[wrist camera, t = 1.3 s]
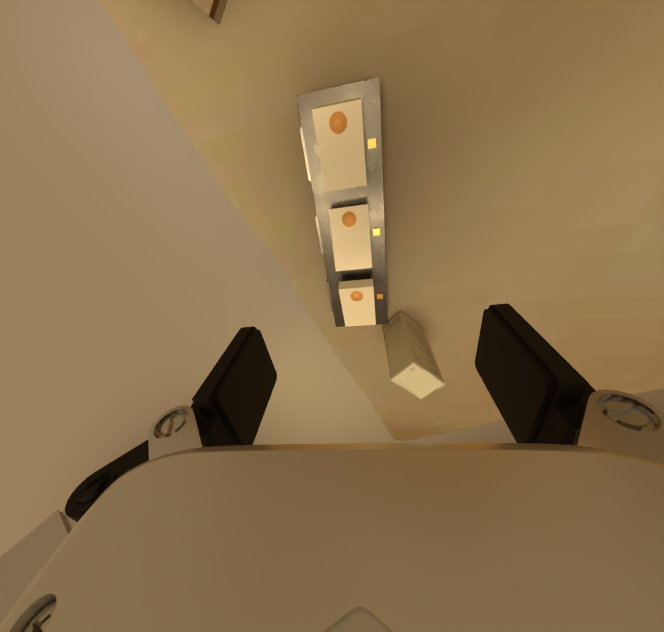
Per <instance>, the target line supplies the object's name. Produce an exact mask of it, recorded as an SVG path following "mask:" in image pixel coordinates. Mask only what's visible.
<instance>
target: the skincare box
mask: <svg viewBox="0 0 664 632" xmlns="http://www.w3.org/2000/svg"><path fill="white" fill-rule="evenodd" d="M383 332H384V339H385V346H386V352H387V359H388V365H389V372H390V379H391V380H392V381H393V382H394V383H396V384H397V385H399V386H400V387H402V388H403V389H405V390H407V391H408V392H410V393H411V394H413V395H415V396H416V397H418V398H419V399H422V398H424V397H426V396H428V395H429V394H431V393H433V392H434V391H436V390H438V389H439V388H441V387H443V386H444V385H445V383H444V380H443V378H442V375H441V372H440V370H439V367H438V365H437V362H436V359H435V357H434V354H433V351H432V349H431V346H430V344H429V341H428V338H427V336H426V333H425V330H424V329H423V328H421V327H420V326H419V325H418V324H416V323H415V322H414V321H412V320H411V319H410V318H409V317H407V316H406V315H405V314H403V313H402V312H399V313H397V314H396V315H395V316H394V317H393V318H392V319H390V320H389V321H388V324H385V325H384V326H383Z"/></svg>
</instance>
